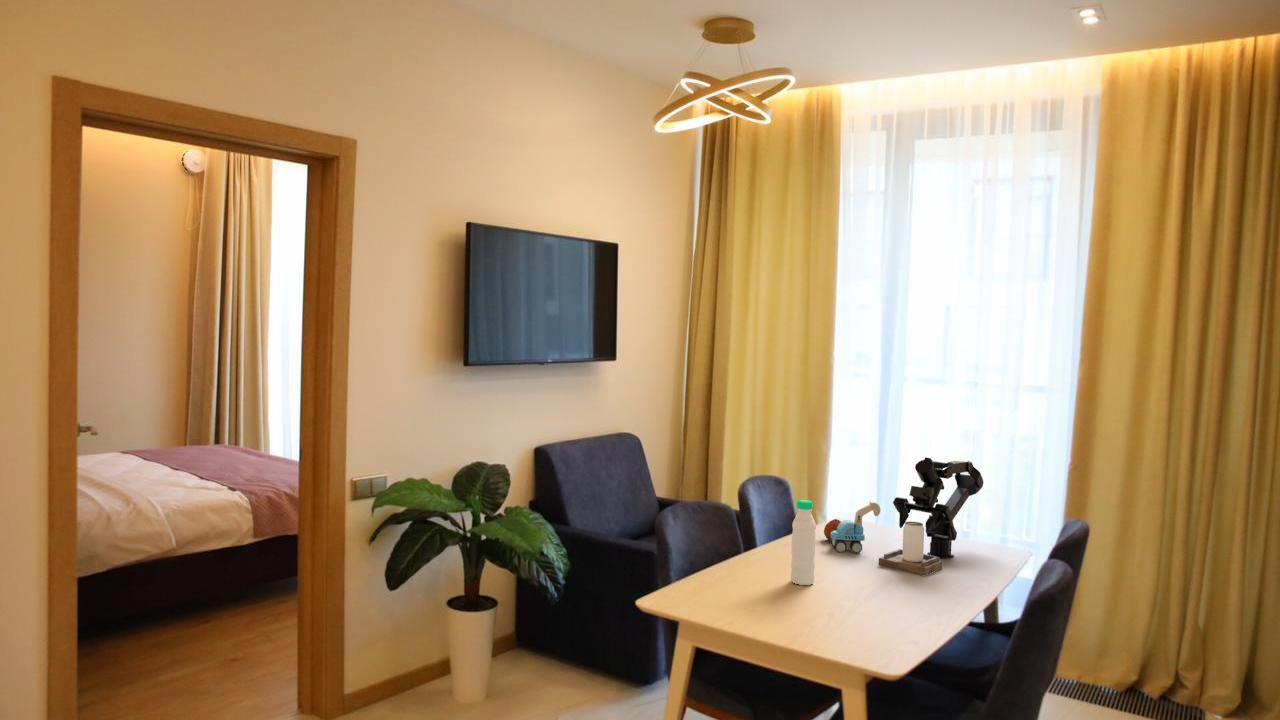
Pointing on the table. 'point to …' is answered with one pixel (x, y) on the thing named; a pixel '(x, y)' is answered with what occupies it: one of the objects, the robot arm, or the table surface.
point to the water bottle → (803, 545)
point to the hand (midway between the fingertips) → (913, 529)
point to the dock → (910, 563)
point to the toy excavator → (852, 530)
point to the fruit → (831, 528)
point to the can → (913, 542)
